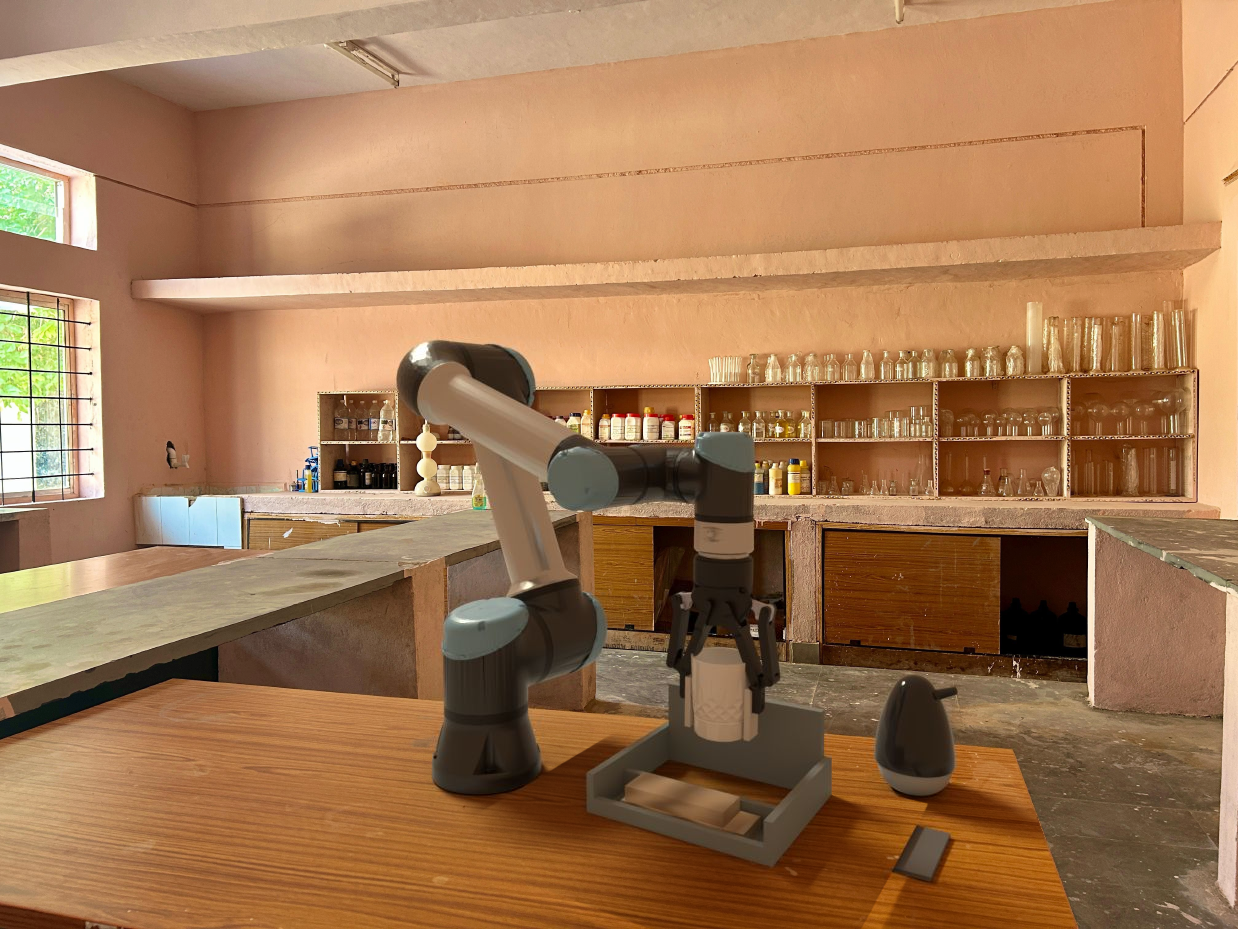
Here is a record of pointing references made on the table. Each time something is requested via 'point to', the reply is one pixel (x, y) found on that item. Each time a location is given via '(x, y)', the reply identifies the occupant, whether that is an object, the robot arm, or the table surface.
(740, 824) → the block
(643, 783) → the upper offcut
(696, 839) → the rack
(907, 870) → the mat
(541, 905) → the table surface
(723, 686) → the white cup
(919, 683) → the pump dispenser
